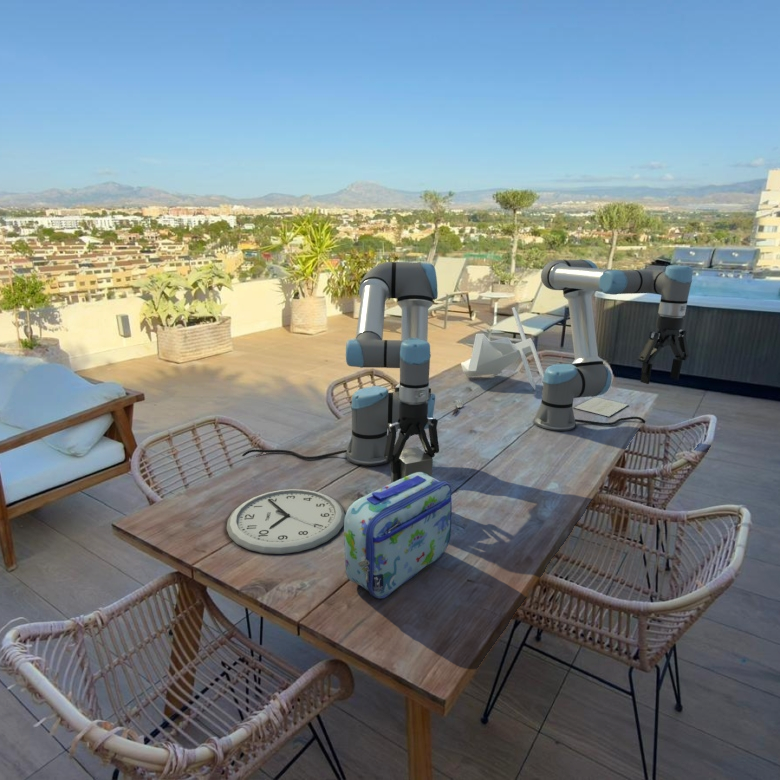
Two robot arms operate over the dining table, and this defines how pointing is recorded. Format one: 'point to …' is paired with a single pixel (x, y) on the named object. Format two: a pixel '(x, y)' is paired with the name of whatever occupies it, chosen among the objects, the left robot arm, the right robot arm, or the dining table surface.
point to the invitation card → (601, 406)
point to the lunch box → (397, 532)
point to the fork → (458, 407)
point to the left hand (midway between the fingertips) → (411, 480)
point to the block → (414, 462)
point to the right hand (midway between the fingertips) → (659, 380)
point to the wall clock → (285, 521)
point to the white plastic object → (500, 355)
